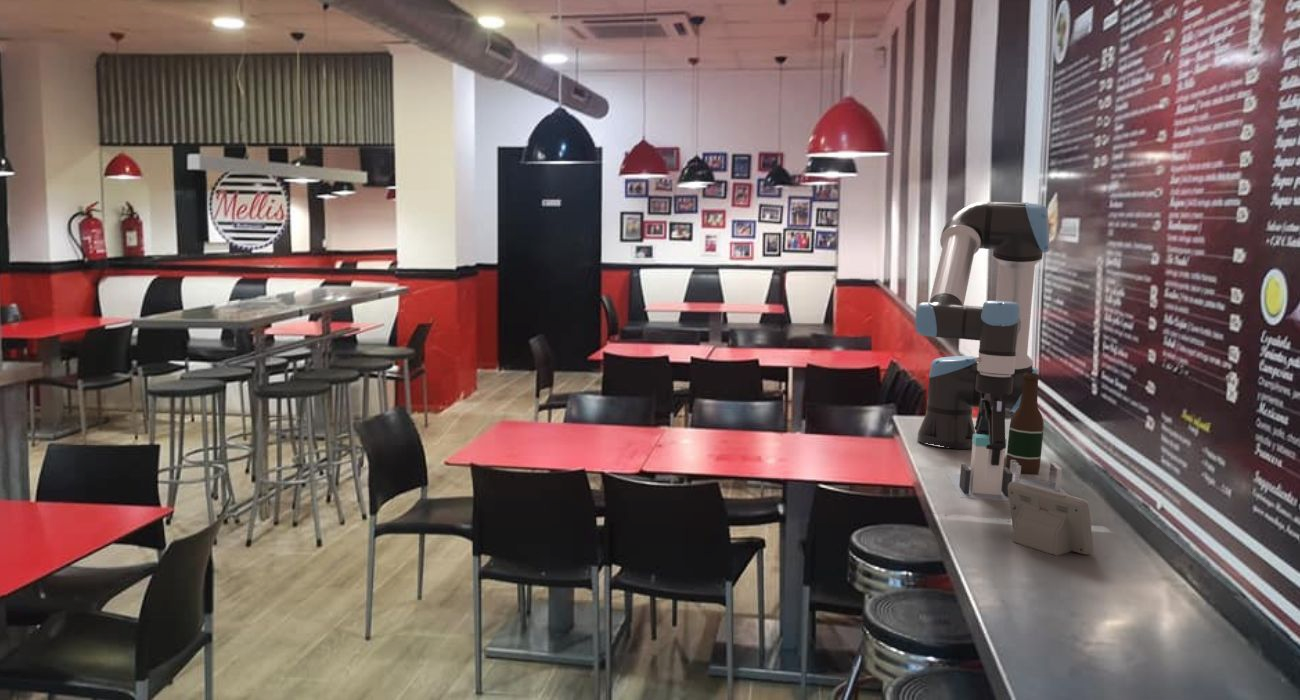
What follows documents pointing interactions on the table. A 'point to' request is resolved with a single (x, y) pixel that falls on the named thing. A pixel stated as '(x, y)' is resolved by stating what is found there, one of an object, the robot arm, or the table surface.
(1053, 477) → the port
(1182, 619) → the table surface
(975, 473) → the white and teal box
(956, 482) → the panel
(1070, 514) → the digital clock
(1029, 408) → the beer bottle
